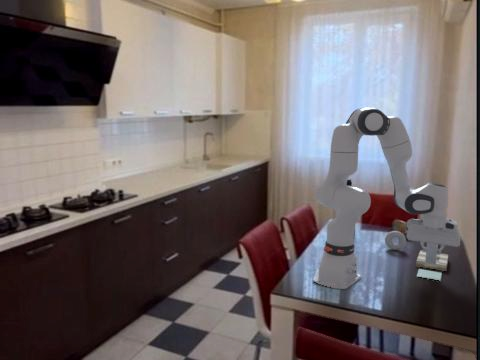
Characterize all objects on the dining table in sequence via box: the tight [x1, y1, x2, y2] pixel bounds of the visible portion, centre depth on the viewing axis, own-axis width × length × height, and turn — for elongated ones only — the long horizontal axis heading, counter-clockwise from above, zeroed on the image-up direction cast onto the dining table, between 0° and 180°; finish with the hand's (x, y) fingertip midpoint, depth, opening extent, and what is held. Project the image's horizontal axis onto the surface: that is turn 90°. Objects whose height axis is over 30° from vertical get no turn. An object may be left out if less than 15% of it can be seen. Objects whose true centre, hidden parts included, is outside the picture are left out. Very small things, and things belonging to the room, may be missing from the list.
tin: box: [391, 219, 408, 238], centre depth 222 cm, size 15×3×8 cm, turn 10°
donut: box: [384, 230, 407, 251], centre depth 197 cm, size 10×4×10 cm, turn 69°
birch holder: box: [415, 249, 449, 272], centre depth 180 cm, size 16×12×3 cm
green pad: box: [416, 268, 442, 282], centre depth 166 cm, size 9×9×1 cm
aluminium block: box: [425, 242, 439, 264], centre depth 165 cm, size 4×4×9 cm
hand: (431, 252), depth 165 cm, fingers closed on aluminium block, 4 cm apart
